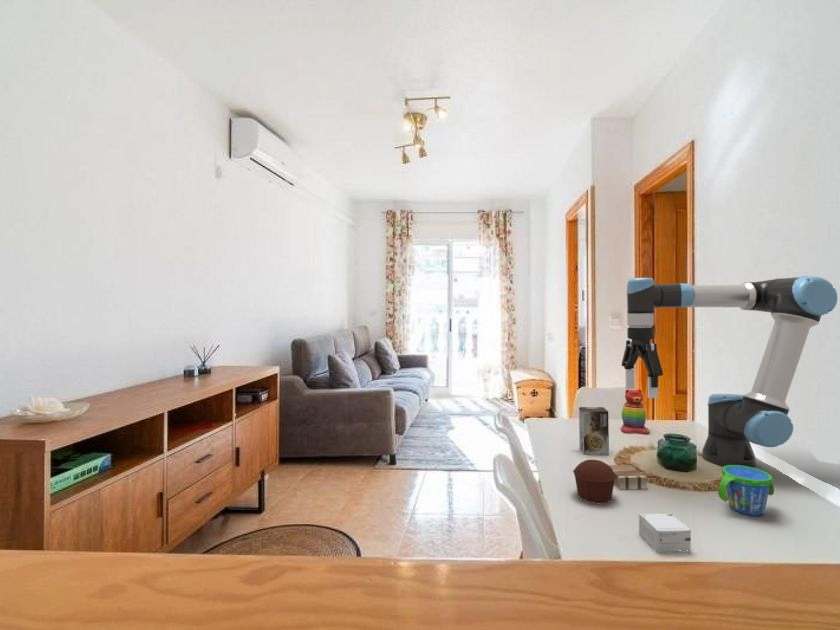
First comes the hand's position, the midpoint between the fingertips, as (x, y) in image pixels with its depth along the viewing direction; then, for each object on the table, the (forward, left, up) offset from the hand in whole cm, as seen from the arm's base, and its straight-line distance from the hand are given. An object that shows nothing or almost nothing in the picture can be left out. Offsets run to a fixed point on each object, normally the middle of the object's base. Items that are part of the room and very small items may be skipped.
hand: (640, 393), depth 136 cm
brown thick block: (+1, +13, -25) cm, 28 cm away
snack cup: (-26, +12, -27) cm, 39 cm away
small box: (-7, +40, -27) cm, 49 cm away
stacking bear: (+5, -52, -27) cm, 58 cm away
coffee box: (+16, -16, -27) cm, 35 cm away
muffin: (+11, +23, -27) cm, 37 cm away
